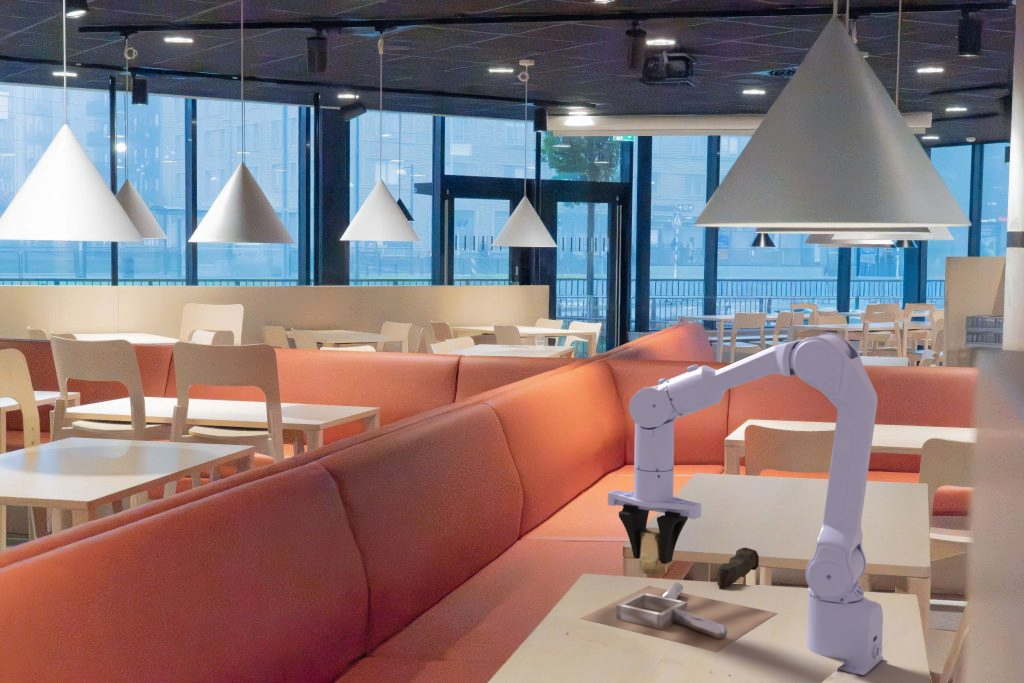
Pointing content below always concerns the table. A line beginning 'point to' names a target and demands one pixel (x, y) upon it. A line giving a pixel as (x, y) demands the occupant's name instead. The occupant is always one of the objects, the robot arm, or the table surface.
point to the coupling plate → (654, 619)
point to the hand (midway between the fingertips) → (652, 559)
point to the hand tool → (737, 567)
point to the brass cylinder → (650, 552)
